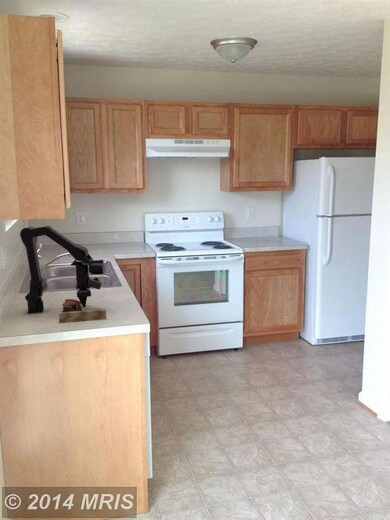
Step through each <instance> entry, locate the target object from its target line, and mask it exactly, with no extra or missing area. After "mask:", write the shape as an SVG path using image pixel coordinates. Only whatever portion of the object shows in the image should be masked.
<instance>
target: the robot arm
mask: <svg viewBox="0 0 390 520" xmlns="http://www.w3.org/2000/svg"><path fill="white" fill-rule="evenodd" d="M19 236H20V239H21V242H22V244H23V245H24V247H25V251H26V257H27V262H28V267H29V273H30V274H29V275H30V282H29V292H28V293H27V294H26V295H25V296H24V299H25V301H26V302H27V314H39V313H40V314H41V313H43V312H44V308H45V306H44V304H45V303H44V300H43V298H42V297H43V295H44V293H46V291H47V288H48V286H49V285H48V284H47V278H43V276H42V274H41V268H40V267H41V266H40V261H39V256H38V250H37V243H38V237H41V236H46V237H47V238H49V239H50V240H52V241H53V242H54V243H56V244H58V245H59V246H61V248H63V249H65V250H67V252H68V253H69V255H70V256H71V257H72V258H73V259H74V260H73V261H72V263H70V266H71V267H72V266H73V267H74V266H75V281H76V284H75V290H76V297H77V298H78V301H80V302H81V307H83V308H86V305H87V299H88V298H89V297H92V292H91V290H90V289H91V288H92V289H96V290H99V291H100V290H101V287H102V281H101V280H99V277H97V276H95V277H93V278H91V277H90V274H91V275H105V274H106V265H105V262H104V261H105V260H104V259H94V258H93V257H92V255H91V254H90V253H89V249H88V248H87V247H84V246H82V245H81V244H78V243H75V242H73V241H71V240H70V239H69V238H67V237H66V236H64V235H62V234H61V233H60V232H58V231H57V230H55V229H54V228H53V227H52V226H50V225H45V226H40V227H39V226H38V227H34V226H27V227H24V228H21V230H20V232H19ZM89 273H90V274H89Z"/></svg>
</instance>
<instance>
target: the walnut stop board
mask: <svg viewBox="0 0 390 520" xmlns="http://www.w3.org/2000/svg"><path fill="white" fill-rule="evenodd" d="M106 319H107V310H106V308H101V309H99V308H98V309H87V310H82V311H73V312H61V311H60V312H58V322H59V324H62V323H72V322H74V323H75V322H83V321H84V322H85V321H96V320H106Z"/></svg>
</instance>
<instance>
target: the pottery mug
mask: <svg viewBox="0 0 390 520" xmlns="http://www.w3.org/2000/svg"><path fill="white" fill-rule="evenodd" d="M61 306H62V310H61V311H60V312H73V311H83V310H82V309H83V308H82V304H81V302H80V300H79V299H73V298H72V299H71V298H67V299H65V300H64V302H63V303H62V304H61Z"/></svg>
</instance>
